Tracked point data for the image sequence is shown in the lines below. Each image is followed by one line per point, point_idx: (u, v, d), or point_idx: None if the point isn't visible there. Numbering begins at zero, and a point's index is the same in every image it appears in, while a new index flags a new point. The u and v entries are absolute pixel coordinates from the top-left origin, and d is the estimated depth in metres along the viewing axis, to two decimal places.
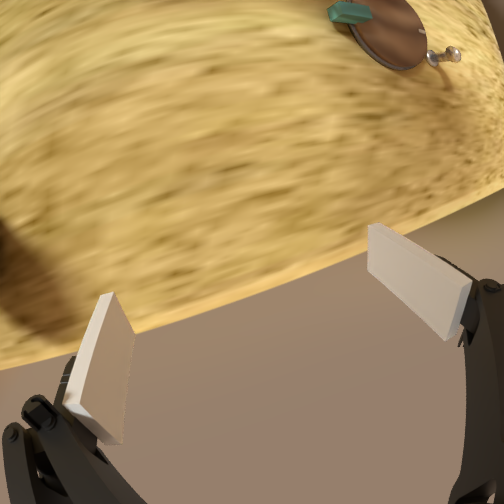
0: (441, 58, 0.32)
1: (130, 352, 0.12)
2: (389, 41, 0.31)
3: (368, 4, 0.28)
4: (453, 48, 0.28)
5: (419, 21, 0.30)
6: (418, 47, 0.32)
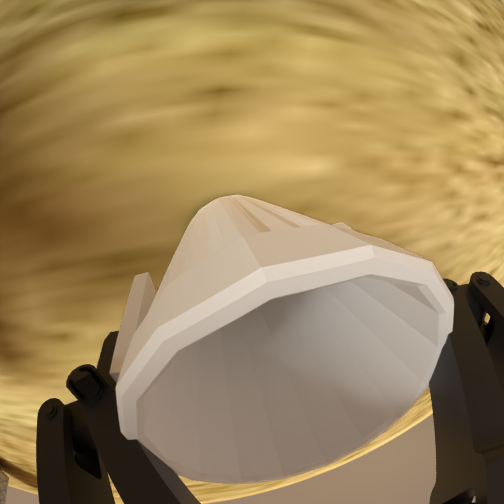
0: None
1: None
2: None
3: None
4: None
5: None
6: None
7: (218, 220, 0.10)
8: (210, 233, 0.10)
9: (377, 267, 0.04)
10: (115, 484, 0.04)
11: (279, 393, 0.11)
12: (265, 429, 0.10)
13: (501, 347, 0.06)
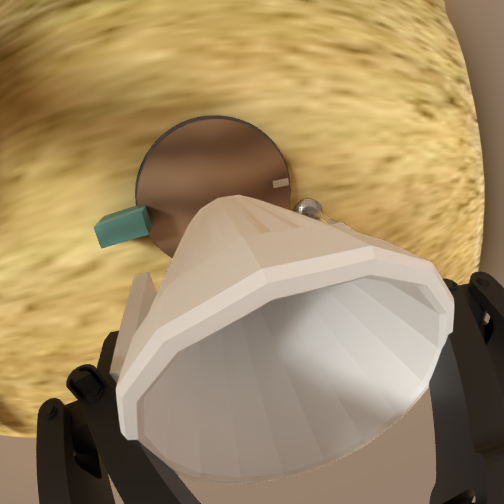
0: None
1: None
2: None
3: (163, 182, 0.28)
4: None
5: (278, 162, 0.29)
6: None
7: (218, 220, 0.10)
8: (210, 233, 0.10)
9: (377, 268, 0.04)
10: (115, 484, 0.04)
11: (279, 394, 0.11)
12: (265, 429, 0.10)
13: (501, 347, 0.06)
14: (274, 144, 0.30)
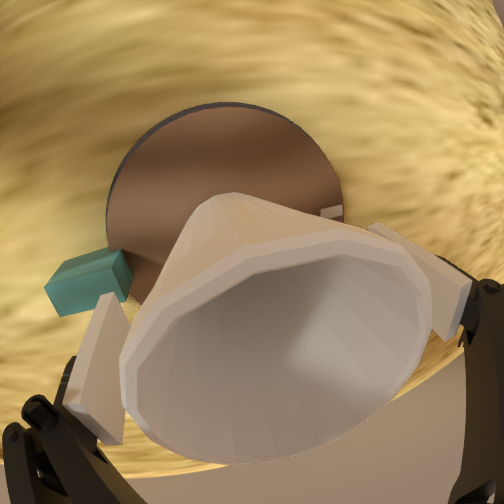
0: None
1: None
2: None
3: (147, 212, 0.17)
4: None
5: (329, 179, 0.19)
6: None
7: (213, 214, 0.11)
8: (206, 226, 0.10)
9: (347, 248, 0.05)
10: None
11: (273, 379, 0.12)
12: (259, 413, 0.11)
13: None
14: None
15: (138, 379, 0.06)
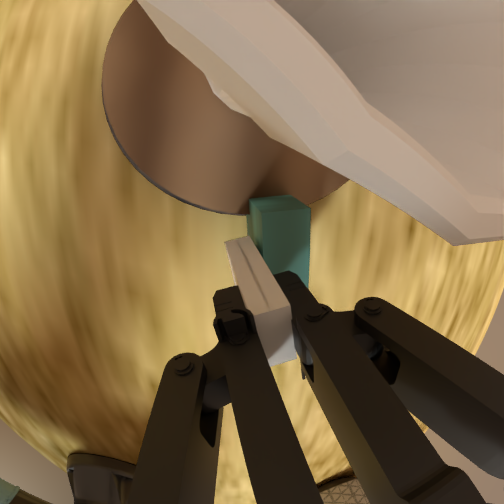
0: None
1: None
2: None
3: (210, 155, 0.14)
4: None
5: None
6: None
7: None
8: None
9: None
10: (240, 432, 0.05)
11: (453, 42, 0.05)
12: (498, 73, 0.04)
13: (416, 382, 0.06)
14: None
15: (404, 140, 0.02)
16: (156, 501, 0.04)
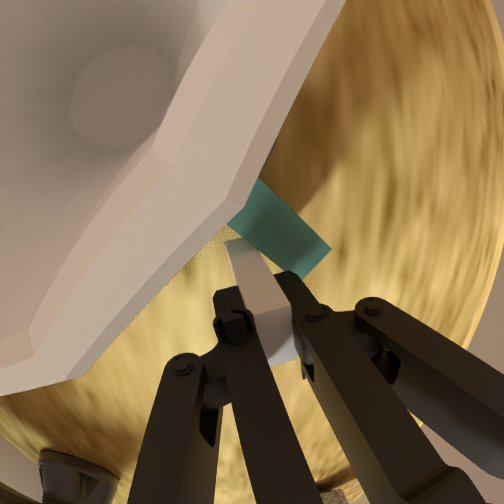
0: None
1: None
2: None
3: None
4: None
5: None
6: None
7: None
8: None
9: None
10: (240, 432, 0.05)
11: None
12: None
13: (416, 382, 0.06)
14: None
15: None
16: (156, 501, 0.04)
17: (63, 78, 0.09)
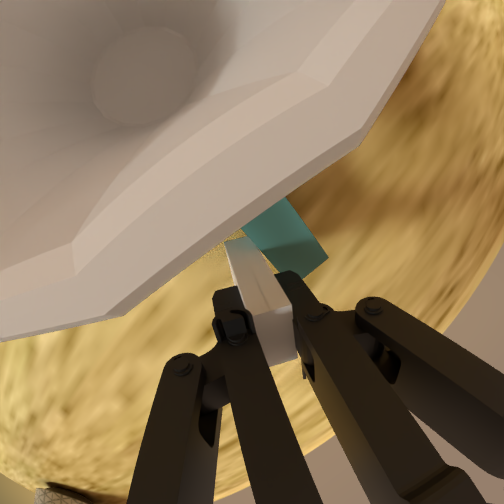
0: None
1: None
2: None
3: None
4: None
5: None
6: None
7: None
8: None
9: None
10: (239, 432, 0.05)
11: None
12: None
13: (416, 381, 0.06)
14: None
15: None
16: (155, 501, 0.04)
17: (92, 47, 0.08)
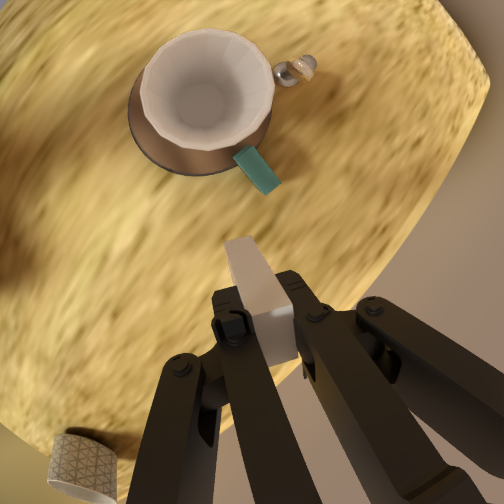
0: (294, 76, 0.28)
1: None
2: None
3: (206, 151, 0.31)
4: (293, 64, 0.24)
5: None
6: None
7: None
8: None
9: (148, 111, 0.17)
10: (238, 432, 0.05)
11: (241, 70, 0.20)
12: (253, 75, 0.19)
13: (417, 381, 0.06)
14: None
15: (214, 143, 0.19)
16: (155, 501, 0.04)
17: (180, 90, 0.26)
